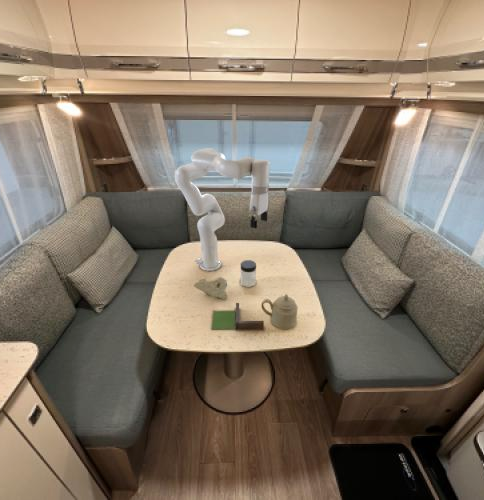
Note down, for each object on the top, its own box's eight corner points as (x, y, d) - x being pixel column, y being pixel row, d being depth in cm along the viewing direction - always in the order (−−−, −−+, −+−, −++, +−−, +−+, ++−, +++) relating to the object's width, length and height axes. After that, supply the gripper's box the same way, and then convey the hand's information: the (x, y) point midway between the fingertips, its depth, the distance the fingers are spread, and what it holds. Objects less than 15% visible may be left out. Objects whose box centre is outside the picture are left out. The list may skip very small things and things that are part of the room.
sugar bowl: (269, 334, 114) (271, 307, 106) (259, 316, 123) (260, 291, 116) (300, 326, 118) (304, 300, 110) (288, 309, 127) (291, 284, 119)
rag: (211, 329, 117) (211, 328, 116) (213, 311, 126) (213, 311, 126) (234, 329, 117) (234, 328, 116) (234, 311, 126) (234, 310, 126)
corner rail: (235, 330, 116) (235, 323, 114) (236, 309, 127) (235, 302, 125) (263, 329, 116) (263, 323, 114) (261, 309, 127) (261, 302, 125)
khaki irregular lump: (233, 294, 140) (218, 270, 142) (235, 292, 133) (218, 267, 135) (208, 310, 136) (193, 285, 139) (208, 309, 129) (192, 283, 132)
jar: (245, 289, 140) (245, 270, 134) (237, 281, 146) (237, 263, 140) (259, 283, 145) (260, 265, 139) (250, 276, 150) (250, 258, 144)
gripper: (262, 183, 127) (261, 216, 135) (242, 192, 114) (242, 228, 123) (276, 185, 123) (274, 219, 132) (257, 195, 111) (256, 232, 119)
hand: (258, 223), depth 127 cm, fingers open, 9 cm apart
